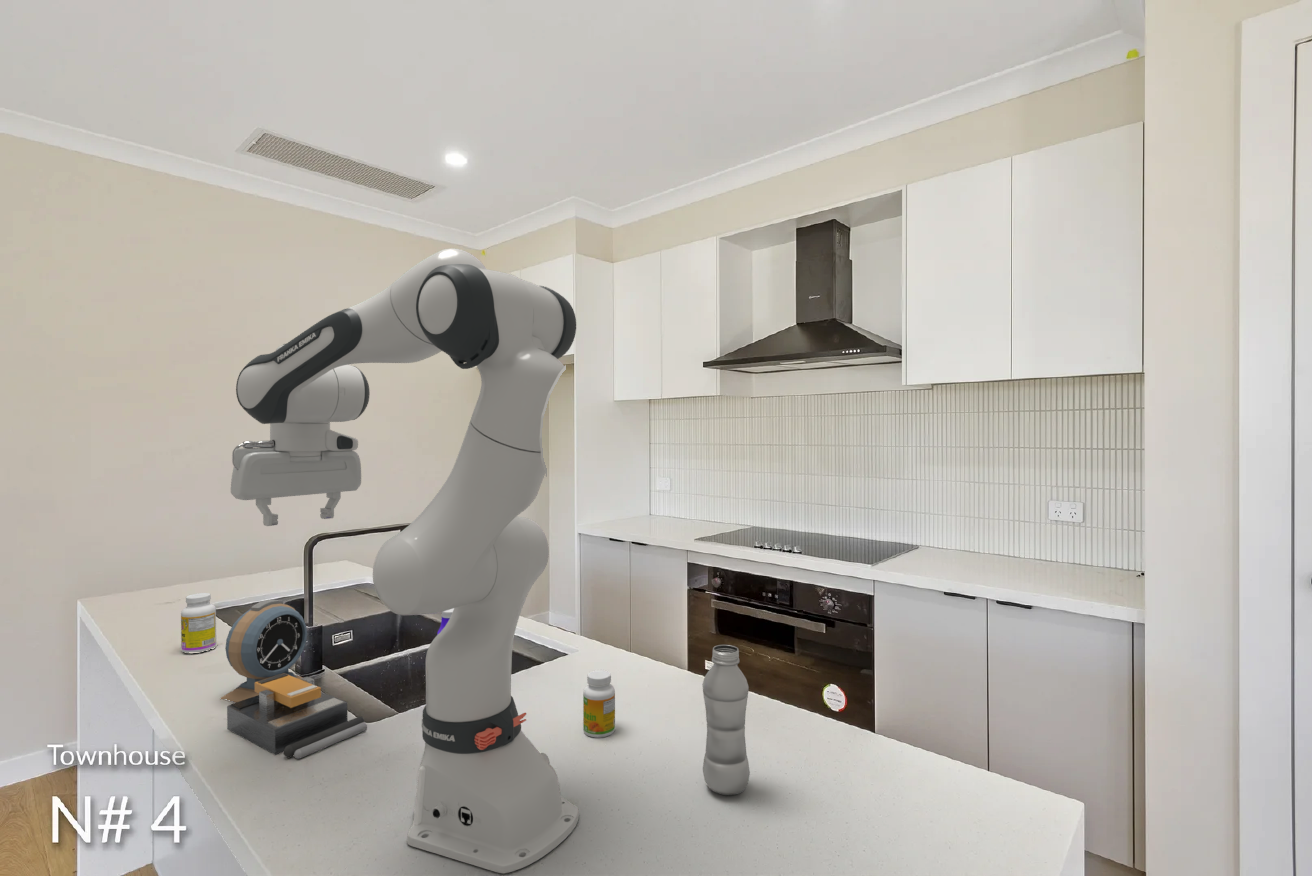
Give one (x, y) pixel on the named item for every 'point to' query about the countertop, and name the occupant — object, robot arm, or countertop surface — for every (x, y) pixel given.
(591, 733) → the supplement bottle
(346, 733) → the grey rounded bar
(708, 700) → the plastic bottle
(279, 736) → the dark grey block
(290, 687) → the orange striped box
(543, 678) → the countertop surface
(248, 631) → the alarm clock
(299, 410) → the robot arm
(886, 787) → the countertop surface
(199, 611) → the supplement bottle
